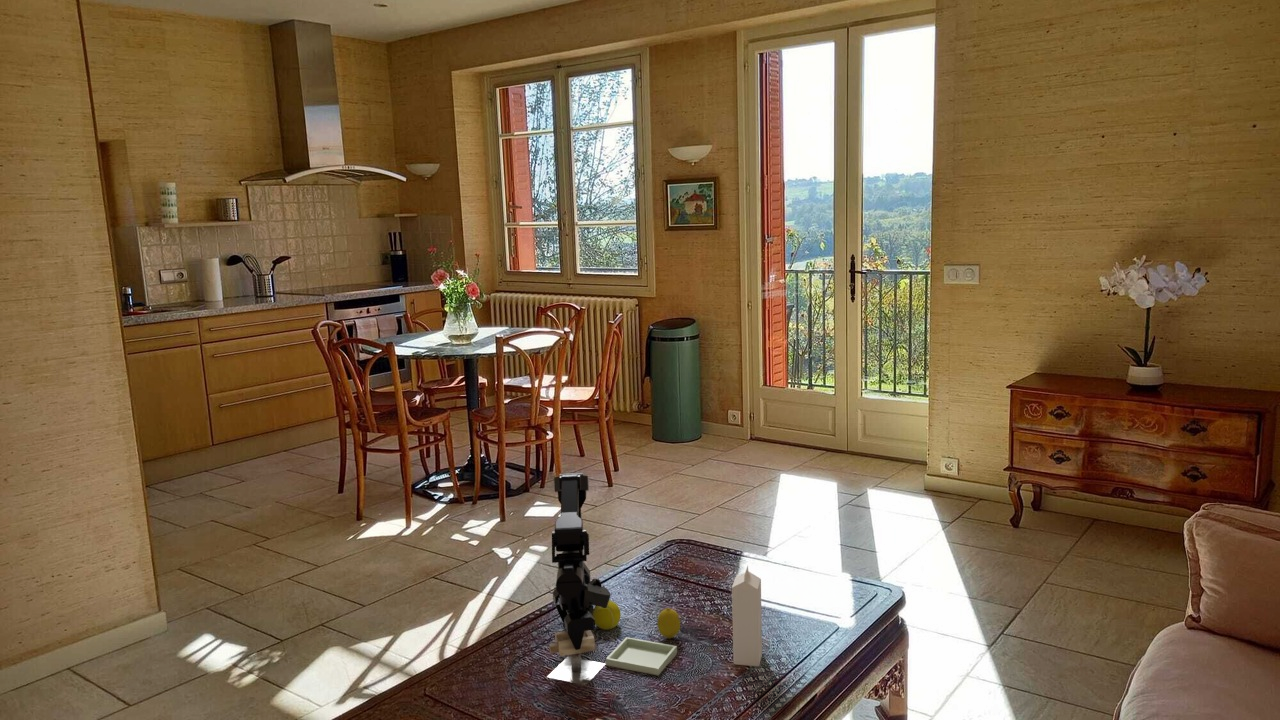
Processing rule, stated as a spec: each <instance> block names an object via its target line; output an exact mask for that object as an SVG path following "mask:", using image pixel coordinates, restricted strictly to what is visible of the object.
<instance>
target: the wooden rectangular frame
mask: <svg viewBox="0 0 1280 720" xmlns="http://www.w3.org/2000/svg"><path fill="white" fill-rule="evenodd" d="M554 637H555V638H554V639H555V641H554V642H552V643H549V644H548V646H549V652H550V654H557V653H558V654H559V656H560V657H564V656H569V655H570V656H571V654H577V653H580V654H582V653H587V652H592V651H593V652H594V651H596V643H595V641H596V640H595V636H594V634H593V632H592V630H588V631H585V632H584V635H583V639H582V644H581V648H580V649H579V650H575V648H574V646H573V644H572V641H571V639H570V637H569V635H568V633H567V631H566V630H563V631H558V632H554Z"/></svg>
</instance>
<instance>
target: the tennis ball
mask: <svg viewBox="0 0 1280 720" xmlns="http://www.w3.org/2000/svg"><path fill="white" fill-rule="evenodd" d="M621 615H622V614H621V609H620V607H619V605H618V604H617V603H616V602H614V601H613V600H609V602H608V605H607V608H602V607H601V606H595V605H594V610H593V618H594V619H595V627H598V628H599V629H601V630H612V629H614V628H615V627H616V626H618V624H619V622H620V620H621Z"/></svg>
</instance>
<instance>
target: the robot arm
mask: <svg viewBox="0 0 1280 720" xmlns="http://www.w3.org/2000/svg"><path fill="white" fill-rule="evenodd" d="M589 482H590V481H589V476H588V475H585V474H584V472H569V473H559V475H558V476H555V477H553V488H554V490H553V491H554V493H557V500H558V502H559V503H560V516H559V517H558V518H557V519H556V520H555V522H554V530H553V531H551V563H552V564H553V563H554V564H556V563H557V572H556V573H557V574H556V581H555V588H554V590H553V591H552V600H553V602H554V604H555V605H556V606H555V608H556V610H557V613H558V615H559V617H560V619H561V621H562V626H563V627H564V628H565V631H567V633H568V635H569V637H570V639H571V641H572V644H573V646H574V648H575V650H579V649H580V648H581V644H582V639H583V635H584V632H585V631H588V630H591V631H593V630H595V629H596V624H595V619H594V618H593V610H594V608H595V606H601V607H602V608H607V605H608V602H609V601H610V598H611V593H610V591H609V589H608V588H607V587H605V586H604V585H602V581H601V580H600V579H599V578H595V577H593V578H592V579H591V570H590V569H589V568H588V566H587V565H586V563H585V562H587V561H588V560H587V559H588V558H587V557H588V556H589V555H590V534H589V533H588V531H587V529H584V524H583V523H584V522H583V519H582V507H583V505H584V504H585V503H586V500H587V492H589V491H590V489H589V488H590V487H589V486H590V484H589ZM556 552H557V553H556ZM560 552H561V553H560Z"/></svg>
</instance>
